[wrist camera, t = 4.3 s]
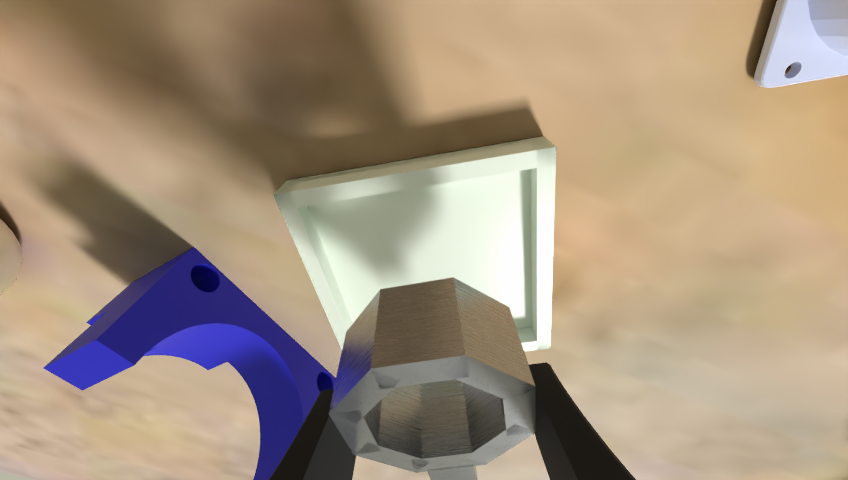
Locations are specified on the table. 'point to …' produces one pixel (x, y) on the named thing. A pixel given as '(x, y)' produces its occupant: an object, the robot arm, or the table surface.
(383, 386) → the grey octagonal ring
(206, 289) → the cable clip
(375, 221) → the tray
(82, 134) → the table surface
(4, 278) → the plastic bottle
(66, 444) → the table surface
